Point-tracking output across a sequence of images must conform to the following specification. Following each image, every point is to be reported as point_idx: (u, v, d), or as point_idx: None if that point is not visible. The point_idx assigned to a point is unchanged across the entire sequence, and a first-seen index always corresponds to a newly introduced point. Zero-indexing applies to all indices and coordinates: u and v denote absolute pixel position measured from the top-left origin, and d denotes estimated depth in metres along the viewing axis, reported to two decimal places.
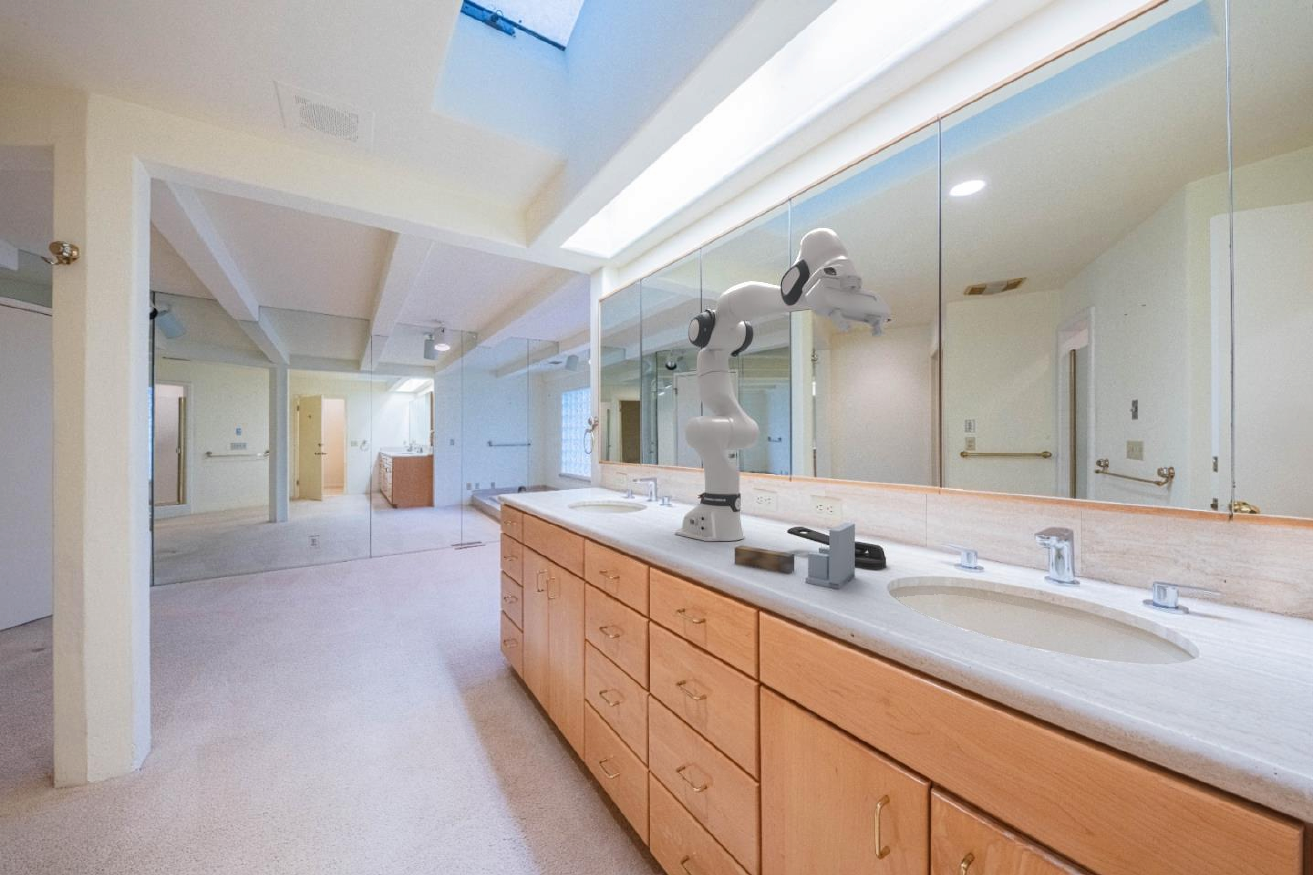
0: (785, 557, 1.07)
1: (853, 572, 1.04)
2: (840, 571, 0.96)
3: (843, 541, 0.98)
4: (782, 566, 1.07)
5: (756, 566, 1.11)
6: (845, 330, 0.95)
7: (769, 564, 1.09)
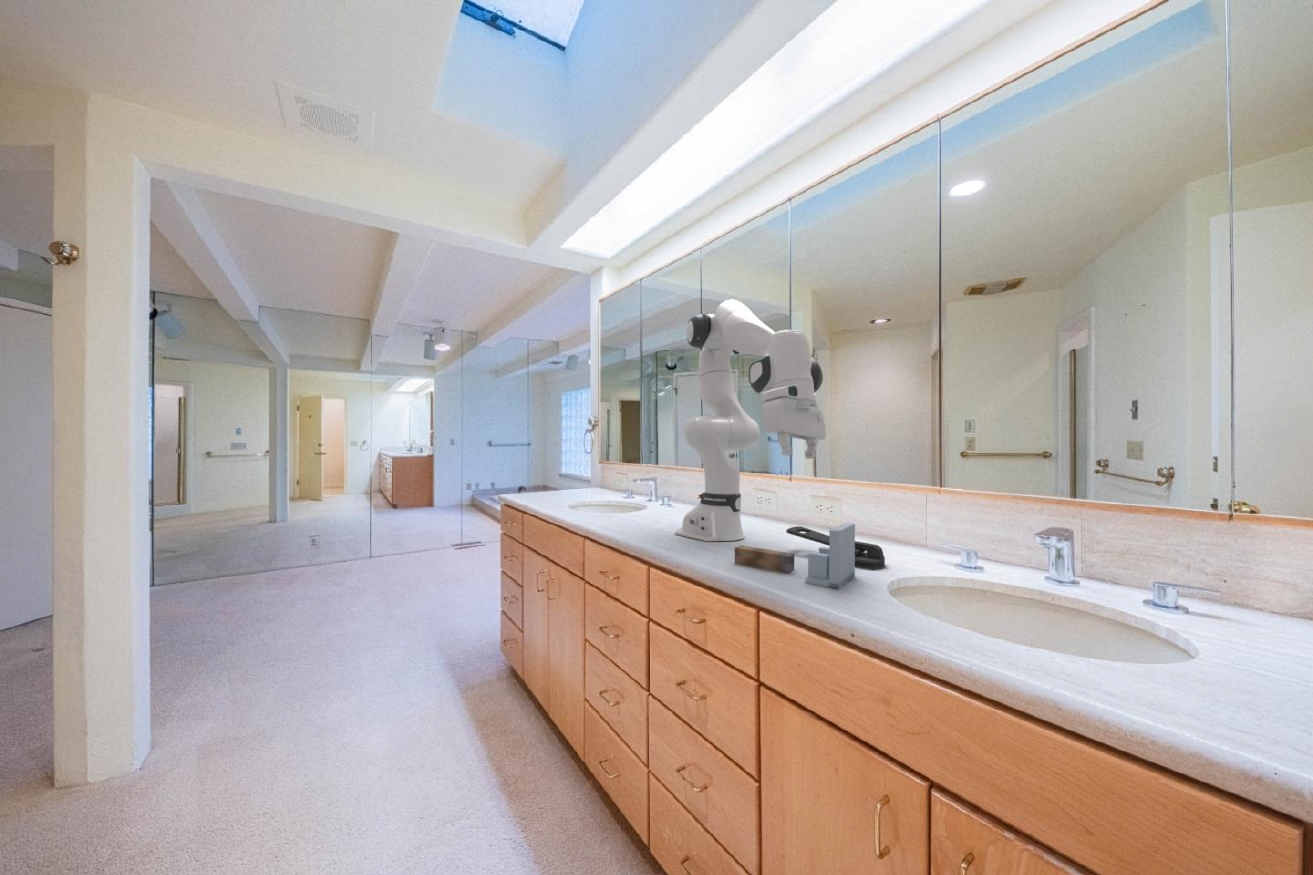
0: (785, 557, 1.07)
1: (853, 572, 1.04)
2: (840, 571, 0.96)
3: (843, 541, 0.98)
4: (782, 566, 1.07)
5: (756, 566, 1.11)
6: (786, 455, 0.99)
7: (769, 564, 1.09)
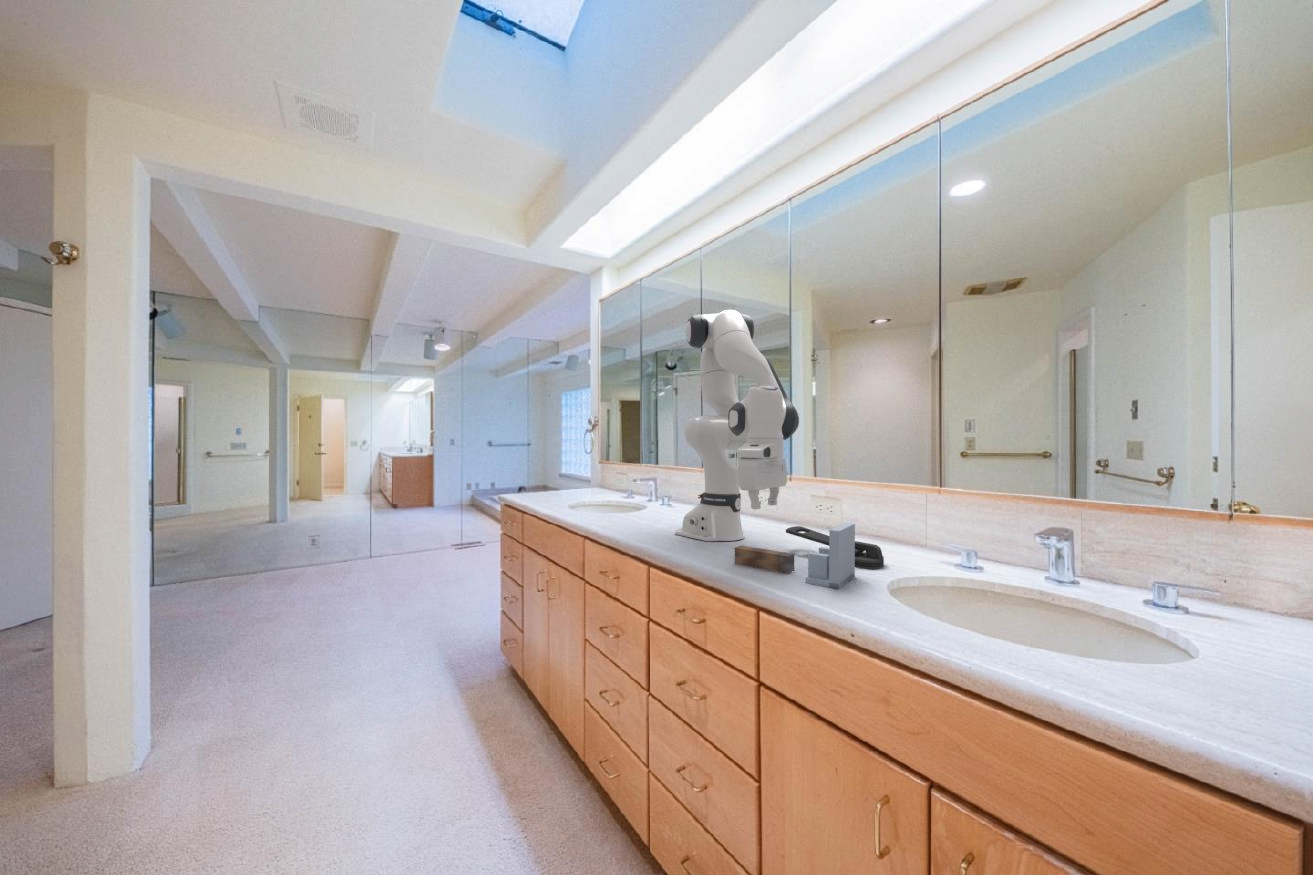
0: (785, 557, 1.07)
1: (853, 572, 1.04)
2: (840, 571, 0.96)
3: (843, 541, 0.98)
4: (782, 566, 1.07)
5: (756, 566, 1.11)
6: (755, 508, 1.08)
7: (769, 564, 1.09)
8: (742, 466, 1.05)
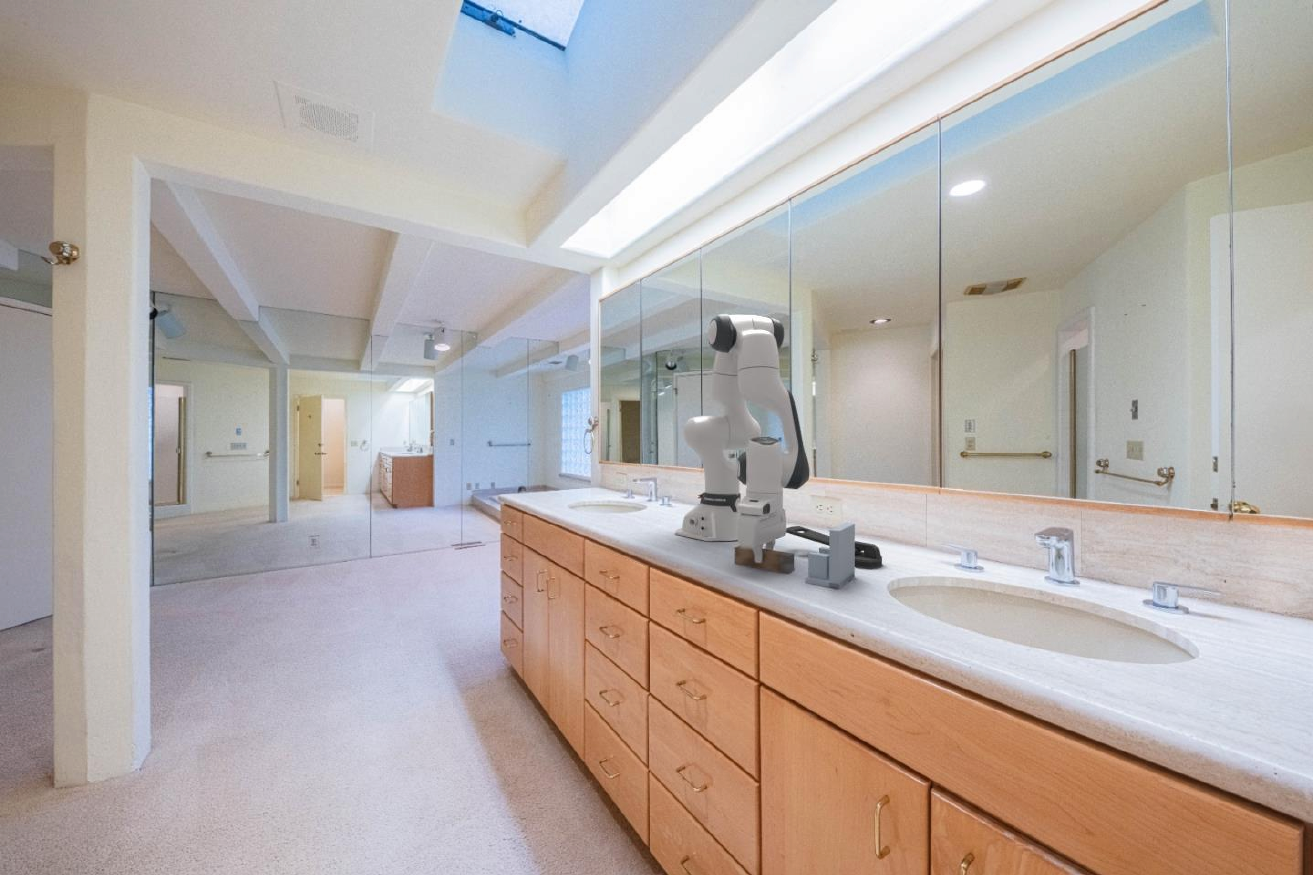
0: (785, 557, 1.07)
1: (853, 572, 1.04)
2: (840, 571, 0.96)
3: (843, 541, 0.98)
4: (782, 566, 1.07)
5: (756, 566, 1.11)
6: None
7: (769, 564, 1.09)
8: (741, 523, 1.05)
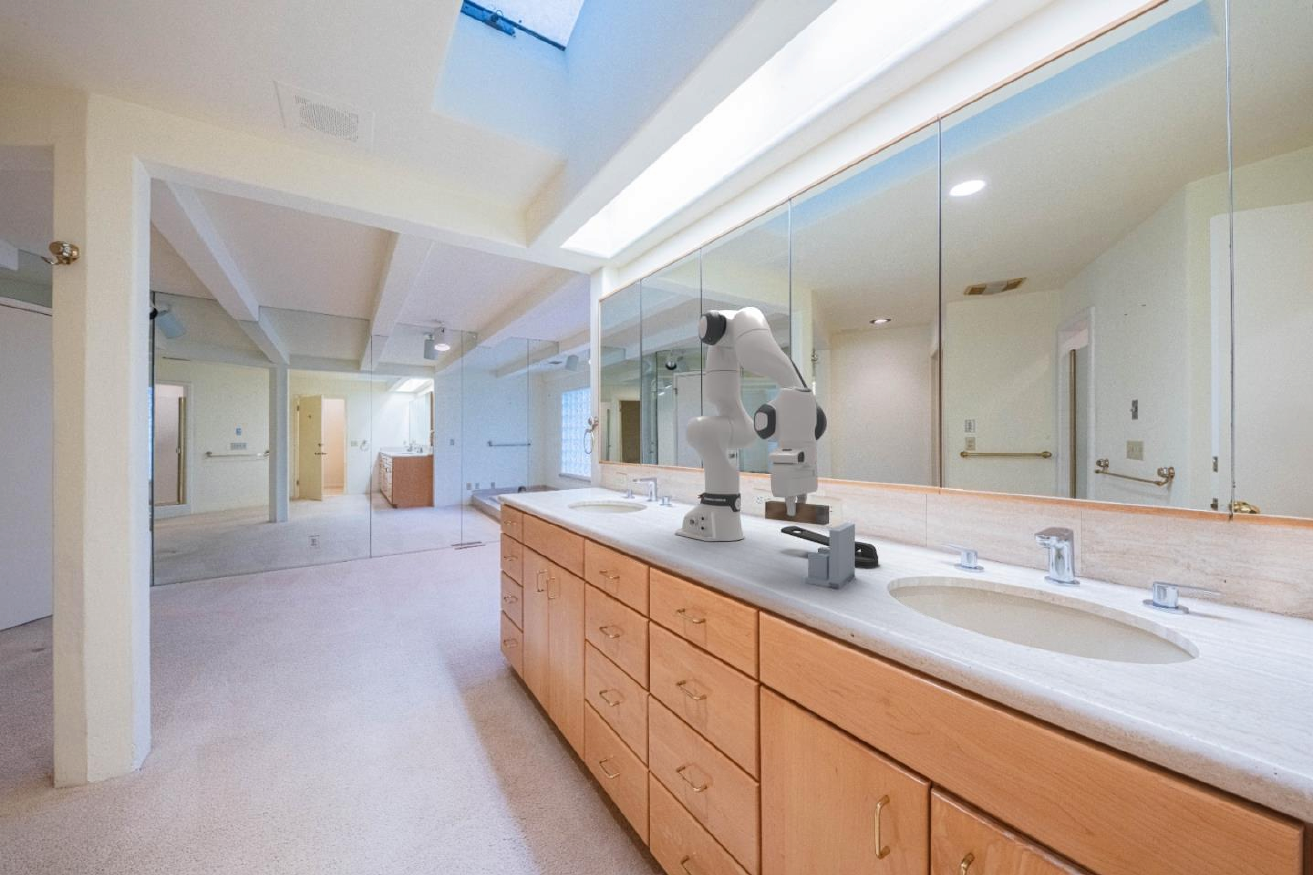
0: (820, 508, 1.02)
1: (853, 572, 1.04)
2: (840, 571, 0.96)
3: (843, 541, 0.98)
4: (817, 518, 1.02)
5: (788, 519, 1.06)
6: (791, 515, 1.05)
7: (803, 517, 1.04)
8: (775, 472, 1.00)
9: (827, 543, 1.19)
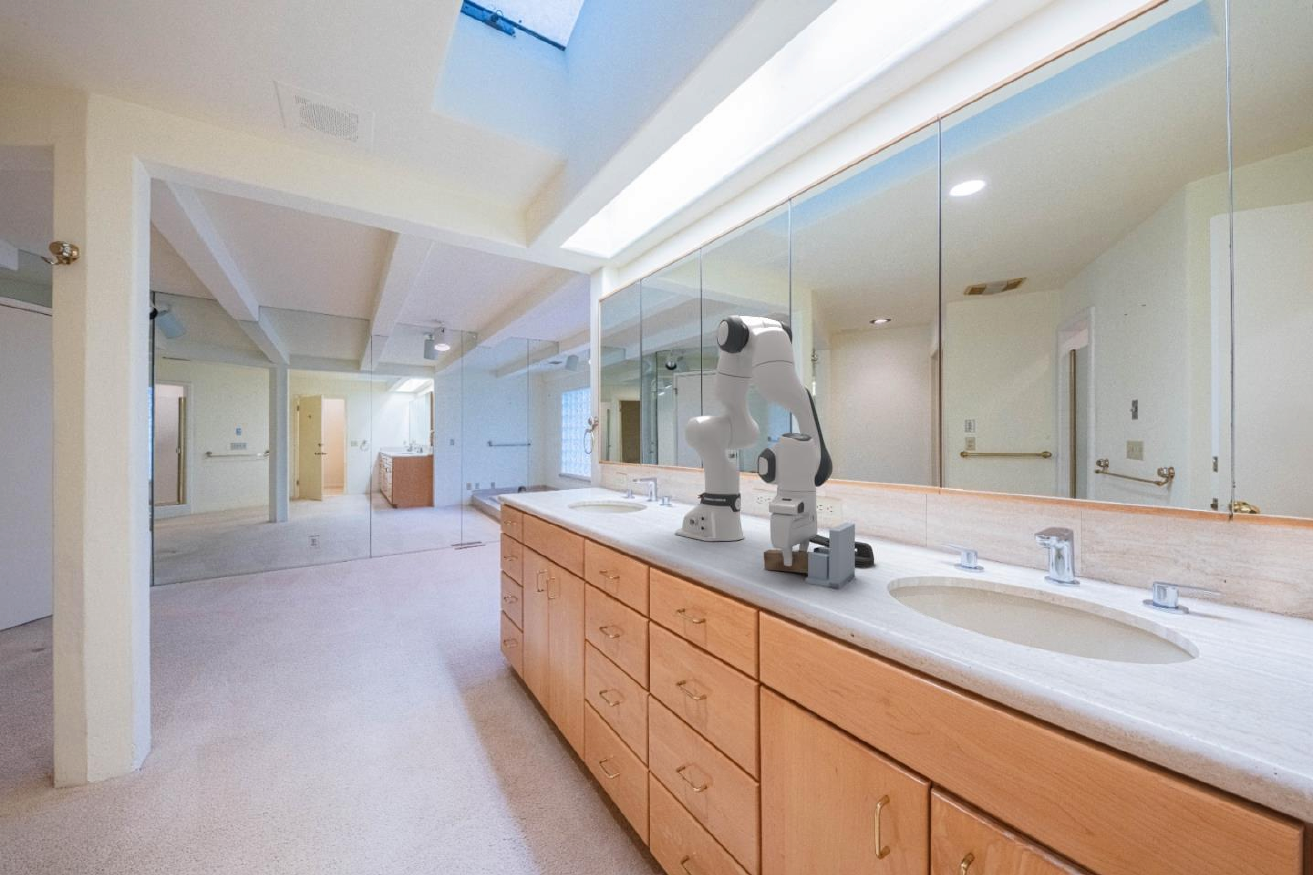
0: None
1: (853, 572, 1.04)
2: (840, 571, 0.96)
3: (843, 541, 0.98)
4: None
5: (788, 569, 1.06)
6: None
7: (802, 566, 1.04)
8: (775, 522, 1.00)
9: (823, 543, 1.19)
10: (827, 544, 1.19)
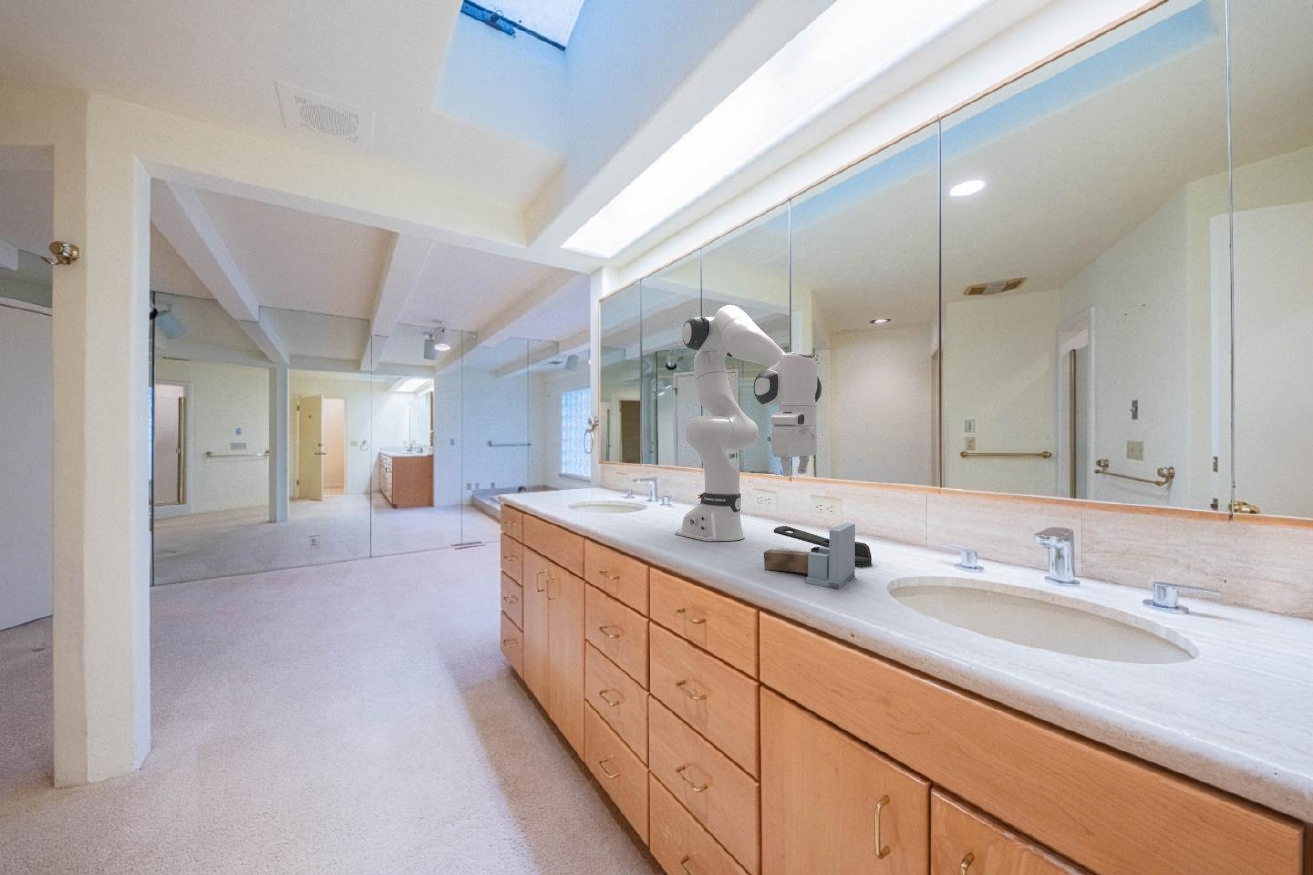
0: None
1: (853, 572, 1.04)
2: (840, 571, 0.96)
3: (843, 541, 0.98)
4: None
5: (788, 569, 1.06)
6: None
7: (802, 566, 1.04)
8: (775, 433, 1.05)
9: (821, 543, 1.20)
10: (825, 544, 1.19)
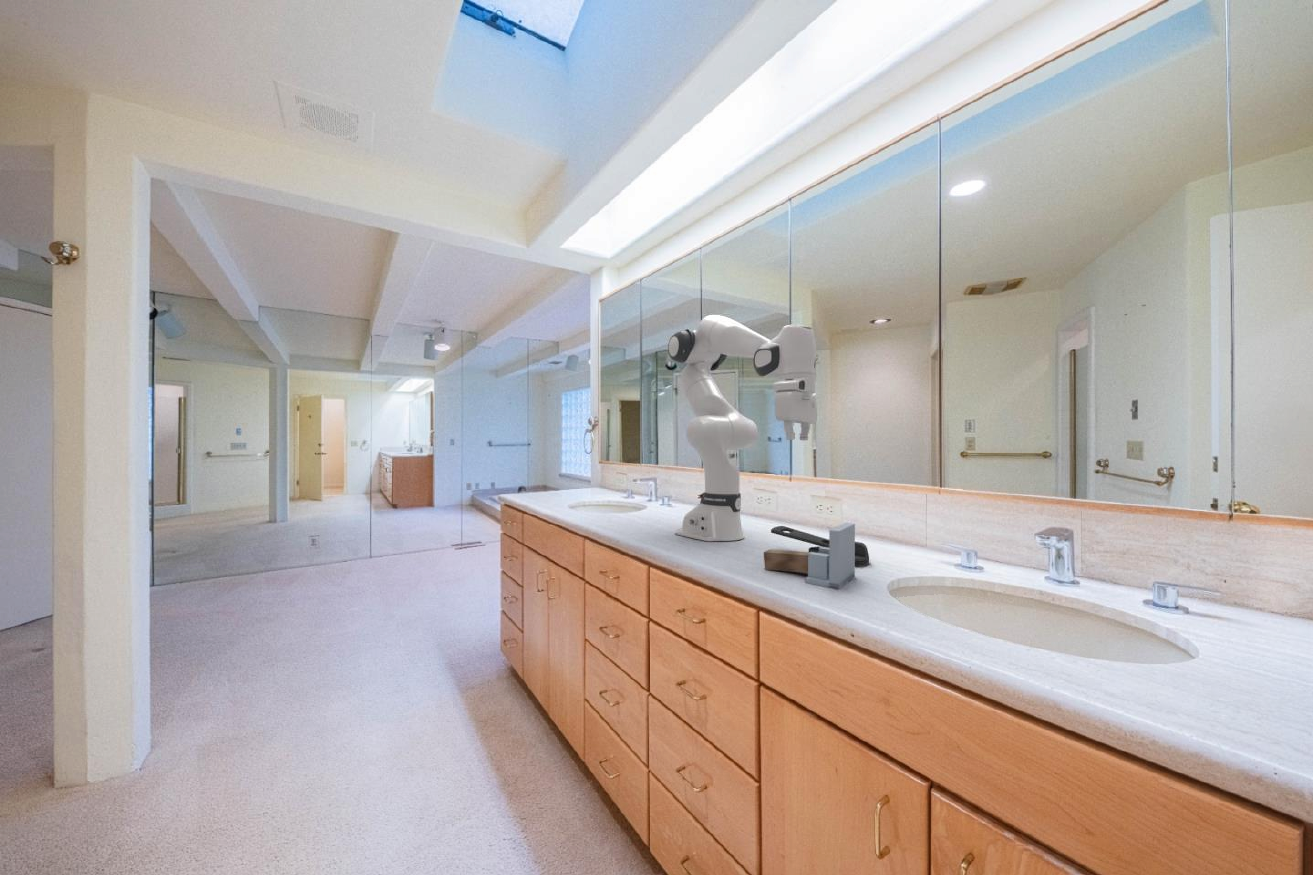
0: None
1: (853, 572, 1.04)
2: (840, 571, 0.96)
3: (843, 541, 0.98)
4: None
5: (788, 569, 1.06)
6: (789, 439, 1.15)
7: (802, 566, 1.04)
8: (778, 398, 1.12)
9: (819, 543, 1.20)
10: (822, 544, 1.19)
